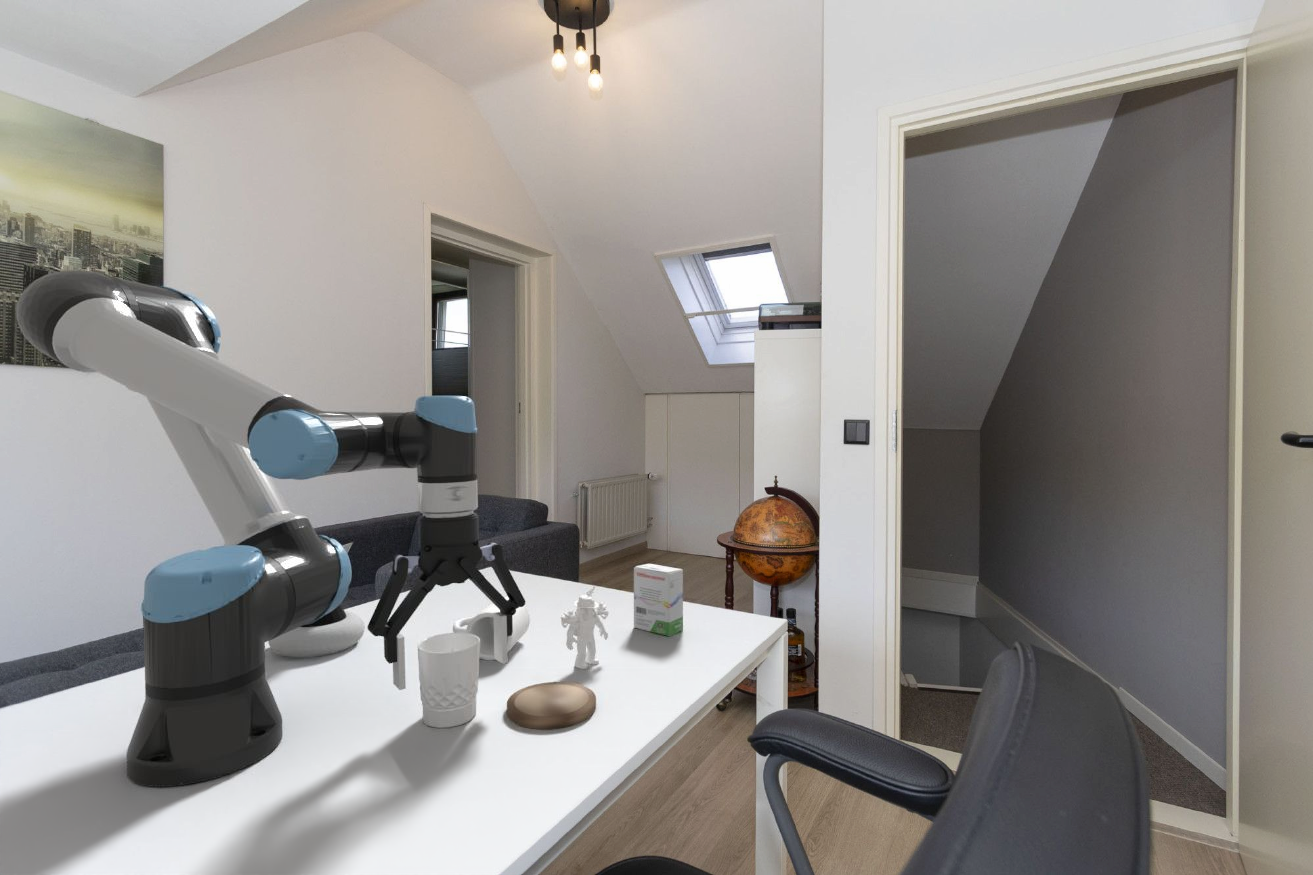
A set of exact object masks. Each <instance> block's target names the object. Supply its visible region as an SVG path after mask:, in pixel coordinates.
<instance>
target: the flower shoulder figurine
mask: <svg viewBox="0 0 1313 875" xmlns="http://www.w3.org/2000/svg"><path fill="white" fill-rule="evenodd" d="M594 592H595V586H593V587H592V588H591V589H590V590H588V591H586V594H583V595H579V597H578V599H577V600H575V601H574V606H575V607H576V610H575V611H574V610H570V608H569V609H568V611H564V613H563V614H564V615H561V617H560V619H561V621H560V622H561V625H562V627H563V628H564V629H565V628H567V627H568V628H567V632H566V643H565V644H566V647H567V649H568V650H570V651H572V650H573V649H574V646H573V644H574V643H575V644H576V651H577V654H576V657H575V660H574V667H576V669H579V670H586V669H588V668H589V665H599V663H600V661H599V659H597V657H596V653H597V652H596V651H597V648H596V640H595V634H594V629H595V627H597V628H598V631H599V635H600V637H601V638H602V637H603V639H604V640H605V641H606V640H608V638H609V637H608V636H609V633H608V631H607V629H606V627H605V625H604V623H603V622H602V620H606V618H608V615H609V610H607V606H606V603H605V602H601V601H600V602H596V601H595V600H594V599H593V598H592V594H594ZM603 615H604V616H603ZM599 616H600V617H601V618H602V620H601V619H600V617H599ZM568 625H569V626H568ZM575 637H576V638H575Z"/></svg>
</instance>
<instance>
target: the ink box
mask: <svg viewBox="0 0 1313 875" xmlns="http://www.w3.org/2000/svg"><path fill="white" fill-rule="evenodd" d="M633 628H634V629H637V630H642V631H647V632H650V633H653V634H654V633H655V634H658V635H662V636H666V637H671V636H673V635H676V634H678V633H679V632H681V631H683V630H684V569H682V568H676V567H670V566H665V565H659V564H656V563H655V564H653V563H646V564H640V565H636V566H635V567H633Z"/></svg>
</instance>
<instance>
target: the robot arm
mask: <svg viewBox="0 0 1313 875" xmlns="http://www.w3.org/2000/svg"><path fill="white" fill-rule="evenodd" d="M17 301H18V302H17V305H16V320H17V324H18V327H19V328H18V329H19V330H20V331H21V333H22V335H23V337H24V338H25V339H26V340H27V341H28V342H29V343H30V345H32V347H34V348H35V349H36V350H38V351H39V352H40V353H42V354H43V355H45V356H47V357H48V358H51V359H52V360H53V361H56V362H57V363H60V364H62V365H64V366H66V367H67V368H69V369H72V370H74V371H77V372H82V373H100V374H101V375H102V376H105V377H107V378H109V379H111V380H112V381H115V382H117V383H119V384H120V385H122V386H124V387H125V388H126V389H128V390H130V391H132V392H133V393H138V394H140V395H142V396H144V397H145V398H146V399H147V401H148V403H149V404H150V407H151V408H152V410H153V412H154V413H155V416H156V417H157V419H158V421H159V423H160V425H161V427H162V428H163V430H164V432H165V435H167V438H168V440H169V441H170V443H171V446H172V447H173V449H174V450H175V453H176V454H177V456H178V457H179V460H180V461H181V463H182V465H183V467H184V468H185V471H186V473H187V474H188V476H189V478H190V480H191V482H192V484H193V485H194V487H195V489H196V491H197V493H198V494H199V496H200V498H201V500H202V502H203V504H204V505H205V507H206V509H207V511H208V513H209V515H210V517H211V518H212V520H213V522H214V524H215V526H216V527H217V529H218V531H219V533H220V535H221V537H222V539H223V540H224V544H223V545H220V546H212V547H209V548H207V549H198V550H194V551H189V552H185V553H183V554H180V555H177V556H174V557H171V558H168V559H166V560H164V561H162V562H160V563H159V564H157V565H156V566H154V567H153V568H151V570H150V571H149V573H147V575H146V577H145V580H144V584H143V585H144V586H143V587H144V589H143V599H142V603H141V606H140V607H141V608H140V611H141V613H142V624H143V625H142V626H143V630H142V631H143V648H144V649H143V650H144V653H143V654H144V655H143V656H144V681H145V682H144V683H145V684H144V688H145V690H144V691H145V694H144V695H145V699H144V702H143V705H142V708H141V711H140V714H139V717H138V719H137V723H136V724H135V728H134V730H133V734H132V735H131V736H132V737H131V739H130V742H129V745H128V748H127V750H126V758H125V759H126V775H127V777H128V779H129V780H130V781H132V782H133V783H135V784H138V785H142V786H148V787H175V786H185V785H189V784H196V783H200V782H204V781H207V780H208V781H209V780H213V779H216V778H219V777H223V776H225V775H229V774H231V773H233V772H237V771H239V770H241V769H244V768H246V767H249V766H250V765H253V764H254V763H256V762H258V761H260V760H262V759H264V758H265V757H266V756H267V755H269V754H270V753H271V752H273V751H274V750H275V749H276V748H277V747H278V746H279V744H280V743H281V742H282V739H283V717H282V713H281V712H280V709H279V705H278V704H277V701H276V699H275V696H274V694H273V692H272V689H271V688H270V687H271V686H270V685H269V683H268V680H267V677H266V650H265V649H266V646H265V645H266V644H265V643H267V642H268V641H269V640H272V639H274V638H276V637H278V636H280V635H283V634H285V633H287V632H289V631H291V630H294V629H296V628H298V627H300V626H303V625H306V624H311V623H313V622H315V621H317V620H318V619H319V618H322V617H323V616H324V615H326V614H328V613H330V612H331V611H333V610H334V609H335V608H336V607H337V606H338V605H339V604H341V603H342V602H343V601H344V600H345V598H346V596H347V594H348V592H349V586H350V584H351V581H352V564H351V560H350V557H349V554H348V553H347V552H346V551H345V549H344V548H343V545H342V544H341V543H340V542H339V541H338V540H337V539H335V538H331V537H328V536H327V535H324V534H317V532H316V530H315V529H314V527H313V525H312V524H311V523H312V522H311V521H310V520H309V518H308V517H307V516H306V515H302V514H299V513H295V512H292V511H291V510H290V509H289V506H288V505H287V503H286V501H285V500H284V497H283V495H281V492H280V491H279V489H278V487H277V485H276V483H275V481H274V480H273V478H274V479H279V480H295V481H296V480H297V481H298V480H299V481H302V480H303V481H304V480H309V479H314V478H317V477H324V476H331V475H336V474H346V473H354V472H362V471H370V470H381V469H385V470H387V469H416V473H417V474H416V475H417V510H418V512H419V513H421V514H422V515H421V516H420V517H419V518H418V546H419V547H418V548H419V549H418V553H417V555H413V556H403V555H402V554H396V555H394V557H393V560H392V571H391V574H390V576H389V579H388V581H387V583H386V585H385V587H384V589H383V592H382V594H381V596H380V598H379V601H378V602H377V605H376V606H375V609H374V611H373V614H372V616H371V617H370V619H369V621H368V622H369V623H368V624H367V630H368V631H369V632H370V634H372V635H373V636H374V637H383V652H384V653H383V654H384V659H385V661H386V662H387V663H388V664H392V679H393V680H392V681H393V685H394V686H395V687H396V689H398V690H399V691H401V690H402V691H403V690H406V684H407V683H406V652H405V648H406V647H405V636H404V635H402V633H400V632H401V631H402V629H403V628H404V627H405V626H406V625H407V623H408V621H409V620H410V619H411V617H412V616H413V614H414V613H415V612H416V610H417V609H418V607H419V606H420V605H421V604H422V602H423V601H424V600H425V598H426V596H427V595H428V594H429V593H431V592H432V591H433V589H435V587H436V586H440V587H446V586H449V585H452V584H464V583H465V582H466V581H468V580H469V581H471V582H472V583H473V584H474V585H475V587H477V589H479V590H480V592H482V593H483V595H485V597H487V599H489V601H491V603H494V604H495V605H496V606H497V607H498V608H499V609H500V612H499V611H498V612H493V616H494V658H495V659H496V661H498V662H499V663H500V664H502V665H504V664H508V662H509V661H508V652H507V637H508V636H511V635H512V632H513V628H512V627H513V625H512V624H513V622H512V615H514V614H515V613H516V609H517V608H519V607H523V606H524V605H525V606H526V598H524V596H523V594H522V592H521V590H520V588H519V587H518V584H517V582H516V580H515V579H514V576H513V575H512V573H511V572H510V569H509V567H508V565H507V564H506V562H505V559H504V554H503V547H502V545H500V544H499V543H497V542H496V543H495V542H493V541H491V542H490V541H489V542H488V543H487V544H486V545H484V546H480V544H479V542H480V541H479V539H480V534H479V532H480V531H479V528H480V526H479V515H478V513H476V512H474V511H476V510H477V509H478V508H479V500H478V498H479V496H478V494H479V493H478V492H479V491H478V473H477V472H478V471H477V468H478V466H477V464H478V462H477V460H478V458H477V457H478V456H477V452H478V451H477V447H478V446H477V433H478V427H477V422H476V408H475V403H474V401H473V400H472V398H470V397H468V396H466V395H465V396H463V395H428V396H423V395H422V396H419V397H417V398H416V400H415V407H414V410H413V411H405V412H404V411H403V412H398V411H397V412H395V411H394V412H392V411H391V412H388V411H387V412H385V411H384V412H383V411H381V412H367V411H360V412H359V411H330V410H329V411H327V410H326V411H324V410H320V409H319V408H318V409H317V408H315V407H313V406H312V405H310V404H307V403H305V402H303V401H302V400H299V399H296V398H295V397H293V396H291V395H290V394H287V393H286V392H284V391H282V390H281V389H277V388H275V387H274V386H271V385H269V384H267V383H266V382H263V381H261V380H259V379H257V378H255V377H254V376H252V375H249V374H247V373H245V372H243V371H241V370H239V369H238V368H235V367H233V366H231V365H229V364H227V363H225V362H224V361H221V360H220V359H219V356H218V353H219V350H220V347H221V342H219V341H218V340H219V338H221V336H222V334H221V328H220V325H219V321H218V319H217V317H216V316H215V314H214V313H213V311H212V310H211V309H210V308H209V307H208V305H206V304H205V303H204V302H203V301H202V300H200V299H199V298H197V297H195V296H193V295H192V294H189V293H185V292H182V291H180V290H177V289H175V288H172V287H167V286H163V285H150V284H146V283H142V282H138V281H133V280H128V279H123V278H120V277H116V276H113V275H112V276H111V275H107V274H102V273H100V272H96V271H95V272H94V271H90V270H80V269H68V270H66V269H65V270H61V271H56V272H52V273H48V274H45V275H43V276H41V277H39V278H37V279H35V280H34V281H33V282H31V283H30V284H29V285H28V286H27V287H26V288H25V289H24V290H23V292H22V294H21V295H20V297H19V298H18V300H17ZM482 557H484V559H485V560H486V561H488V562H489V564H490V566H491V568H492V569H493V572H494V574H495V575H496V577H497V579H498V581H499V583H500V585H501V586H502V588H503V591H504V592H505V594H506V597H508V598H509V600H506V599H505V598H504V597H505V596H503V595H502V594H501V593H500V591H498V590H497V589H496V588H495V586H494V585H493V584H491V583H490V581H489V580H488V579H487V578H486V577H485V575H484V574H483V573H482V572H481V571H480V570H479V569H478V568H477V566H478V564H479V562H480V561H481V559H482ZM416 566H417V567H418V568H419V569H420V570H421V573H420V575H419V576H418V577H417V579H416V580H415V583H414V585H413V586H412V587H411V589H410V590H409V592H408V594H407V595H406V596H405V597H404V598H403V600H402V601H401V602H400V604H399V605H398V606H397V607H396V609H395V611H394V612H393V610H394V608H395V605H396V603H397V601H398V599H399V596H400V595H401V592H402V590H403V588H404V586H405V583H406V581H407V579H408V578H407V577H408V575H410V574H411V573H412V572H413V570H414V568H415V567H416ZM392 612H393V614H392Z"/></svg>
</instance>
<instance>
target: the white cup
mask: <svg viewBox="0 0 1313 875" xmlns="http://www.w3.org/2000/svg"><path fill="white" fill-rule="evenodd" d="M479 654H480V638H479V637H478V636H476V635H473V634H469V633H454V632H448V633H447V632H446V633H440V634H436V635H431V636H428V637H426V638H424V639H423V640H420V641H419V642H418V644H417V658H418V659H417V660H418V680H419V690H420V700H421V706H422V719H423V720H422V721H423V723H424V724H425V725H426V726H428V727H431V728H432V727H433V728H437V729H442V728H443V729H447V728H453V727H456V726H457V727H458V726H461V725H464V724H466V723H468V722H469V721H472V719H473V718H474V717H475V716H476V714H477V695H478V691H479V674H480V658H479Z"/></svg>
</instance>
